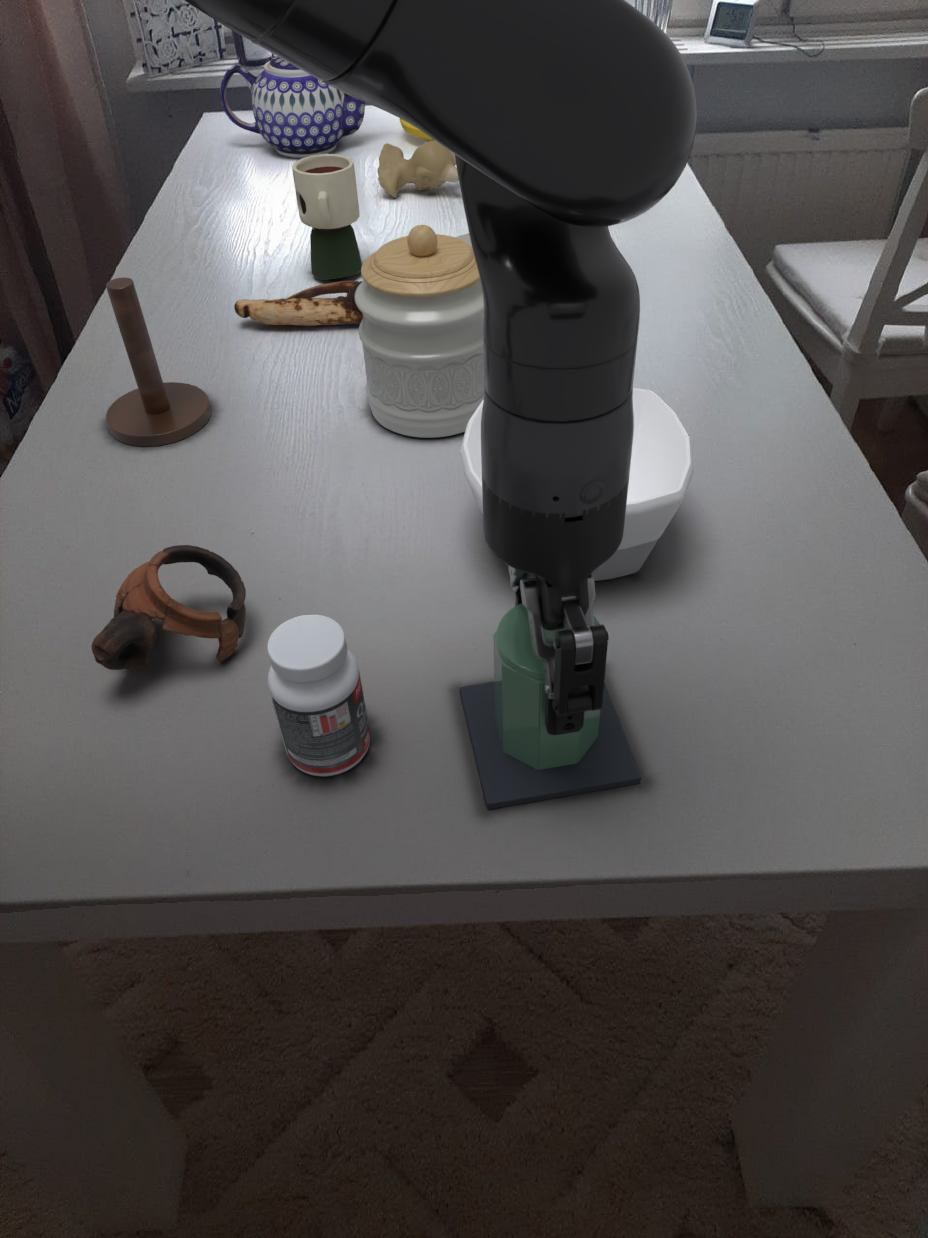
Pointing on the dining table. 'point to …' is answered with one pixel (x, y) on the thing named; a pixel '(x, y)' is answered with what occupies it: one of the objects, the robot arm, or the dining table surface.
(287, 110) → the teapot
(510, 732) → the cup
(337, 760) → the pill bottle
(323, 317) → the bone fish hook
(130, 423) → the holder
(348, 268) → the character mug
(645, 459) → the bowl
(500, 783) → the coaster
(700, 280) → the dining table surface
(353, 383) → the dining table surface
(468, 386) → the jar
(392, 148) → the cat figurine
